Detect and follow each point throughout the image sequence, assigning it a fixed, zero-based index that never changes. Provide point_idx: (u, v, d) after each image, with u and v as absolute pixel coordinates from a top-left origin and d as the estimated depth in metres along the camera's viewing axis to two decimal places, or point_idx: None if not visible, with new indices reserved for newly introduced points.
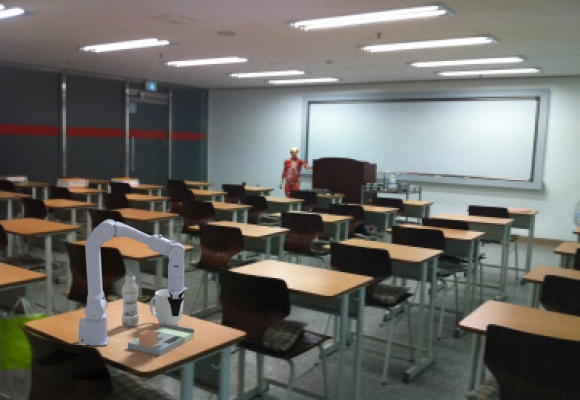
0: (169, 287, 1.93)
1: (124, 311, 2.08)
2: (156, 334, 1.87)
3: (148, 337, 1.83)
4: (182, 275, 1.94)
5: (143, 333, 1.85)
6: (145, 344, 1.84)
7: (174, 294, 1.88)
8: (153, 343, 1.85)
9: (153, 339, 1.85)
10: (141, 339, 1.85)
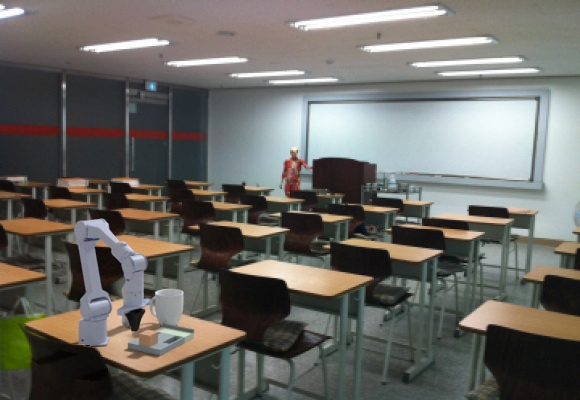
0: None
1: None
2: (156, 334, 1.87)
3: (148, 337, 1.83)
4: (135, 291, 1.75)
5: (143, 333, 1.85)
6: (145, 344, 1.84)
7: (118, 310, 1.72)
8: (153, 343, 1.85)
9: (153, 339, 1.85)
10: (141, 339, 1.85)
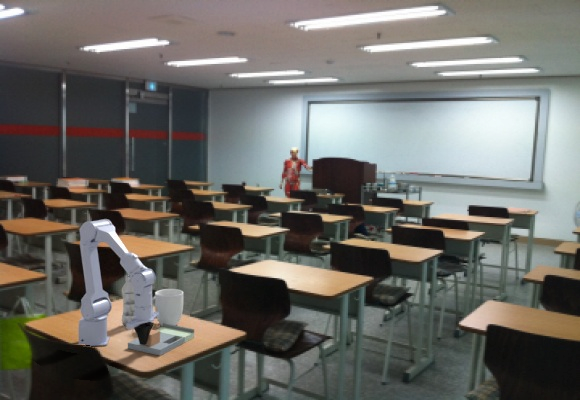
0: None
1: (124, 311, 2.08)
2: (158, 333, 1.87)
3: (150, 336, 1.84)
4: (145, 305, 1.80)
5: None
6: (147, 343, 1.85)
7: (128, 324, 1.77)
8: (155, 342, 1.86)
9: (155, 338, 1.86)
10: None
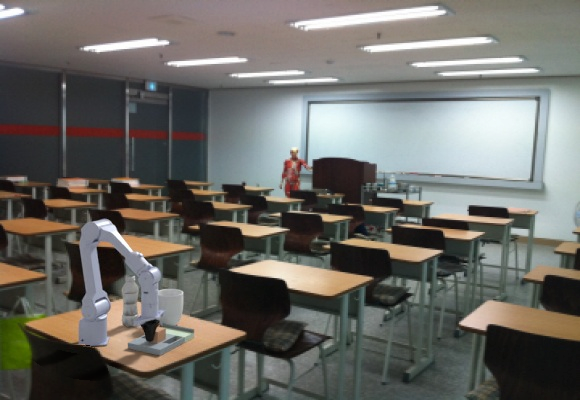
0: (141, 313, 1.86)
1: (124, 311, 2.08)
2: (164, 330, 1.90)
3: (157, 333, 1.87)
4: (153, 302, 1.84)
5: None
6: (153, 340, 1.88)
7: (135, 321, 1.80)
8: (161, 339, 1.89)
9: (161, 335, 1.89)
10: None
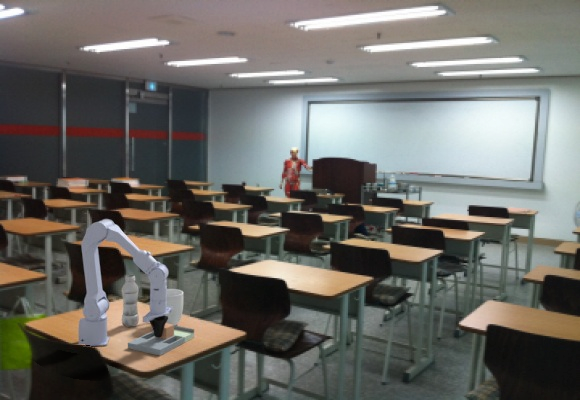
0: (150, 309, 1.90)
1: (124, 311, 2.08)
2: (172, 327, 1.95)
3: (165, 329, 1.92)
4: (163, 299, 1.88)
5: None
6: (162, 336, 1.92)
7: (144, 317, 1.84)
8: (169, 335, 1.93)
9: (169, 331, 1.93)
10: None
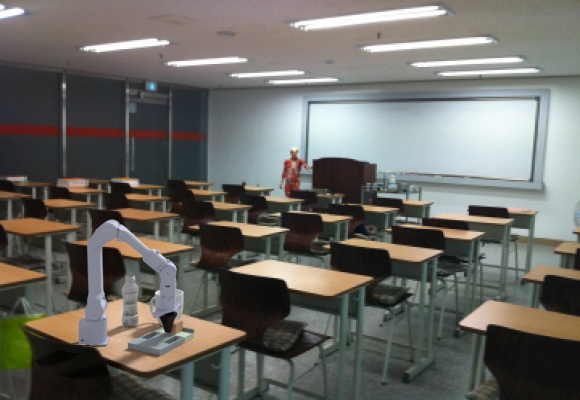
0: (160, 305, 1.95)
1: (124, 311, 2.08)
2: (181, 322, 2.00)
3: (174, 325, 1.96)
4: (174, 295, 1.94)
5: None
6: (171, 332, 1.97)
7: (154, 313, 1.89)
8: (178, 331, 1.98)
9: (178, 327, 1.98)
10: None
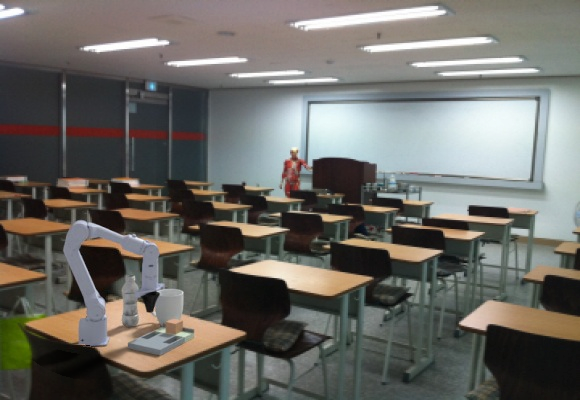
0: (142, 285, 1.96)
1: (124, 311, 2.08)
2: (181, 322, 2.00)
3: (174, 325, 1.97)
4: (157, 274, 1.95)
5: (169, 321, 1.98)
6: (171, 332, 1.97)
7: (135, 292, 1.90)
8: (178, 331, 1.98)
9: (178, 327, 1.98)
10: (167, 327, 1.98)
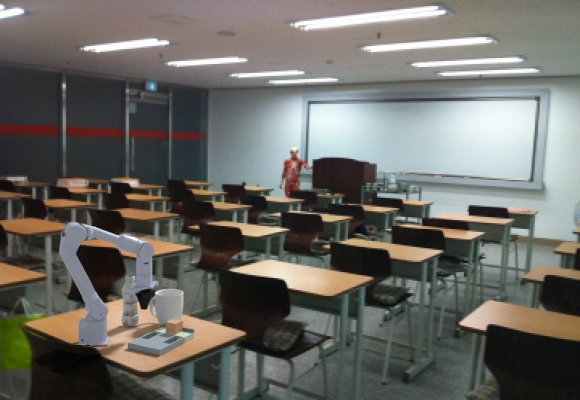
0: (136, 283, 1.99)
1: (124, 311, 2.08)
2: (181, 322, 2.00)
3: (174, 325, 1.97)
4: (151, 271, 1.99)
5: (169, 321, 1.98)
6: (171, 332, 1.97)
7: (130, 290, 1.93)
8: (178, 331, 1.98)
9: (178, 327, 1.98)
10: (167, 327, 1.98)
